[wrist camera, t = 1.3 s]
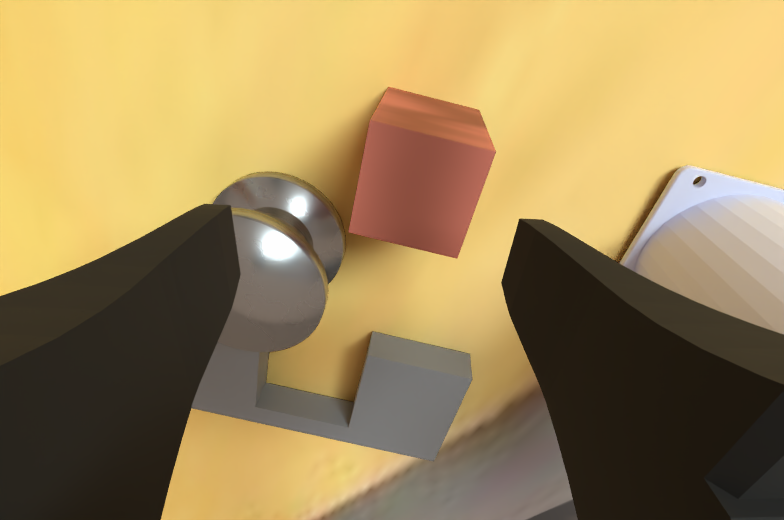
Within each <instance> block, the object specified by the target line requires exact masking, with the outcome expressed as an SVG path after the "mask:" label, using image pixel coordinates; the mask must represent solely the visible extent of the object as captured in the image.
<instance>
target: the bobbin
mask: <svg viewBox="0 0 784 520" xmlns="http://www.w3.org/2000/svg"><path fill="white" fill-rule="evenodd" d="M213 204H217V205H231V210H232V217H233V224H234V231H235V238H236V245H237V252H238V259H239V266H240V272H241V275H240V279H239V283H238V287H237V291H236V295H235V299H234V303H233V306H232V309H231V311H230V314H229V316H228V319H227V321H226V323H225V326H224V328H223V331H222V333H221V335H220V338H219V340H218V342H219V343H222V344H224V345H227V346H230V347H233V348H236V349H240V350H246V351H252V352H272V351H279V350H283V349H287V348H290V347H292V346H295V345H297V344H298V343H300V342H302V341H303V340H305V339H306V338H307V337H309V336H310V334H311V333H312V332H313V331H314V330H315V329H316V327H317V326H318V324H319V322H320V320H321V317H322V315H323V312H324V309H325V306H326V303H327V299H328V284H329V283H330V282H331V281H332V279H333V278H334V277H335V275H336V274H337V272H338V270H339V267H340V265H341V262H342V260H343V256H344V253H345V246H346V238H345V231H344V227H343V224H342V221H341V219H340V216H339V214H338V212H337V211H336V209H335V208H334V206H333V205H332V204H331V202H330V201H329V200H328V199H327V198H326V197H325V196H324V195H323V194H322V193H321V192H320V191H319V190H317V189H316V188H315V187H313V186H312V185H310V184H309V183H307V182H305V181H303V180H301V179H299V178H297V177H294V176H291V175H288V174H283V173H278V172H257V173H253V174H249V175H246V176H243V177H241V178H239V179H238V180H236V181H234V182H233V183H232V184H230V185H229V186H228V187H227V188H226V189H225V190H223V191H222V192H221V193H220V194H219V196H218V197H217V198H216V199H215V201H214V202H213Z"/></svg>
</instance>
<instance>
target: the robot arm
mask: <svg viewBox="0 0 784 520" xmlns="http://www.w3.org/2000/svg"><path fill="white" fill-rule="evenodd" d="M699 176H701V177H702V178H701V180H700V181H699V182H698V183H696V184H693V181H694V180H695V179H696V178H697V177H699ZM240 275H241V272H240V266H239V259H238V252H237V245H236V238H235V231H234V224H233V217H232V210H231V205H217V204H203V205H201V206H198V207H196V208H194V209H192V210H190V211H188V212H186V213H184V214H183V215H181V216H179V217H177V218H175V219H174V220H172V221H170V222H168V223H166V224H165V225H163V226H161V227H159V228H157V229H156V230H154V231H152V232H150V233H148V234H146V235H145V236H143V237H141V238H139V239H137V240H135V241H133V242H131V243H129V244H127V245H125V246H123V247H121V248H119V249H117V250H115V251H113V252H111V253H109V254H107V255H105V256H103V257H101V258H99V259H97V260H95V261H92V262H90V263H88V264H86V265H83V266H81V267H79V268H76V269H74V270H71V271H69V272H66V273H64V274H61V275H59V276H56V277H54V278H51V279H49V280H46V281H44V282H41V283H38V284H35V285H32V286H29V287H26V288H23V289H20V290H17V291H14V292H11V293H8V294H5V295H2V296H0V520H161V516H162V512H163V508H164V504H165V500H166V496H167V492H168V488H169V484H170V480H171V476H172V473H173V469H174V466H175V462H176V458H177V455H178V451H179V448H180V444H181V440H182V437H183V434H184V430H185V427H186V424H187V420H188V417H189V414H190V410H191V407H192V404H193V401H194V398H195V395H196V392H197V390H198V387H199V384H200V382H201V379H202V377H203V375H204V372H205V370H206V368H207V365H208V363H209V361H210V359H211V356H212V354H213V352H214V349H215V347H216V345H217V342H218V340H219V338H220V335H221V333H222V331H223V328H224V326H225V323H226V321H227V319H228V316H229V314H230V311H231V309H232V306H233V303H234V299H235V295H236V291H237V287H238V283H239V279H240ZM501 283H502V287H503V291H504V296H505V300H506V304H507V307H508V311H509V314H510V317H511V319H512V322H513V324H514V327H515V329H516V331H517V334H518V336H519V338H520V341H521V343H522V345H523V348H524V350H525V352H526V355H527V357H528V359H529V362H530V364H531V366H532V368H533V371H534V373H535V375H536V378H537V380H538V382H539V385H540V387H541V390H542V392H543V395H544V398H545V400H546V403H547V407H548V410H549V413H550V416H551V420H552V423H553V426H554V430H555V433H556V436H557V440H558V443H559V447H560V451H561V454H562V458H563V462H564V465H565V469H566V473H567V476H568V480H569V484H570V488H571V493H572V497H573V501H574V505H575V509H576V513H577V517H578V520H784V189H781V188H777V187H773V186H769V185H765V184H761V183H757V182H753V181H749V180H745V179H741V178H738V177H734V176H730V175H726V174H722V173H718V172H714V171H710V170H706V169H702V168H699V167H695V166H688V165H686V166H683V167H681V168H679V169H678V170H677V171H676V172H675V173H674V174H673V176H672V178H671V179H670V181H669V182H668V184H667V186H666V187H665V189H664V191H663V192H662V194H661V196H660V197H659V199H658V200H657V202H656V204H655V205H654V207H653V209H652V210H651V212H650V214H649V215H648V217H647V219H646V220H645V222H644V223H643V225H642V227H641V228H640V230H639V232H638V233H637V235H636V237H635V238H634V240H633V241H632V243H631V245H630V246H629V248H628V250H627V251H626V253H625V255H624V256H623V258H622V259H621V261H620V263H618V262H616V261H614V260H613V259H611V258H609V257H608V256H606V255H604V254H602V253H601V252H599V251H597V250H596V249H594V248H592V247H591V246H589V245H587V244H586V243H584V242H582V241H581V240H579V239H577V238H576V237H574V236H572V235H571V234H569V233H567V232H566V231H564V230H562V229H560V228H559V227H557V226H555V225H553V224H551V223H549V222H547V221H544V220H537V219H519V222H518V226H517V229H516V233H515V236H514V240H513V243H512V247H511V250H510V254H509V257H508V261H507V264H506V268H505V272H504V275H503V279H502V282H501Z"/></svg>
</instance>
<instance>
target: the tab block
mask: <svg viewBox="0 0 784 520" xmlns="http://www.w3.org/2000/svg"><path fill="white" fill-rule="evenodd" d="M495 153H496V151H495V148H494V146H493V143H492V141H491V138H490V136H489V133H488V131H487V128H486V126H485V123H484V121H483V118H482V116H481V113H480V111H479V110H477V109H473V108H469V107H465V106H462V105H458V104H454V103H450V102H446V101H442V100H438V99H434V98H430V97H426V96H422V95H419V94H415V93H411V92H407V91H403V90H399V89H395V88H391V87H388V89H387V91H386V92H385V94H384V96H383V98H382V99H381V101H380V103H379V105H378V107H377V108H376V110H375V112H374V114H373V115H372V117H371V119H370V122H369V127H368V133H367V138H366V143H365V148H364V153H363V159H362V164H361V169H360V174H359V180H358V185H357V190H356V195H355V200H354V206H353V211H352V216H351V221H350V226H349V233H353V234H357V235H361V236H366V237H370V238H374V239H378V240H382V241H386V242H390V243H395V244H399V245H403V246H407V247H411V248H415V249H420V250H424V251H428V252H432V253H436V254H440V255H444V256H449V257H453V258H458V255H459V252H460V250H461V247H462V244H463V241H464V239H465V236H466V233H467V230H468V228H469V225H470V222H471V219H472V217H473V214H474V211H475V208H476V205H477V203H478V200H479V197H480V194H481V192H482V189H483V186H484V183H485V181H486V178H487V175H488V172H489V170H490V167H491V164H492V161H493V159H494V156H495Z"/></svg>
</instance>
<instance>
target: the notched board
mask: <svg viewBox="0 0 784 520" xmlns="http://www.w3.org/2000/svg"><path fill="white" fill-rule="evenodd" d="M268 357H269V352H252V351H246V350H240V349H236V348H233V347H230V346H227V345H224V344H222V343H219V342H217V345H216V347H215V349H214V352H213V354H212V356H211V359H210V361H209V363H208V365H207V368H206V370H205V372H204V375H203V377H202V379H201V382H200V384H199V387H198V390H197V392H196V395H195V398H194V401H193V404H192V407H191V408H193V409H198V410H202V411H207V412H211V413H216V414H220V415H225V416H229V417H234V418H239V419H243V420H248V421H252V422H257V423H261V424H266V425H270V426H275V427H280V428H284V429H289V430H293V431H298V432H302V433H307V434H311V435H316V436H320V437H325V438H330V439H334V440H339V441H343V442H348V443H352V444H357V445H361V446H366V447H370V448H375V449H380V450H384V451H389V452H393V453H398V454H402V455H407V456H411V457H416V458H421V459H425V460H430V461H434V460H435V458H436V456H437V453H438V451H439V449H440V447H441V445H442V443H443V441H444V439H445V436H446V434H447V432H448V430H449V428H450V426H451V424H452V422H453V419H454V417H455V415H456V413H457V411H458V409H459V407H460V405H461V402H462V400H463V398H464V396H465V394H466V392H467V390H468V388H469V385H470V383H471V381H472V370H471V360H470V354H468V353H464V352H459V351H455V350H451V349H446V348H442V347H438V346H433V345H429V344H425V343H420V342H416V341H412V340H407V339H403V338H399V337H395V336H390V335H386V334H382V333H377V332H373V331H372V335H371V339H370V343H369V346H368V350H367V354H366V358H365V362H364V365H363V369H362V373H361V377H360V380H359V384H358V388H357V392H356V396H355V399H354V402H350V401H346V400H341V399H337V398H332V397H328V396H323V395H319V394H314V393H310V392H305V391H301V390H297V389H292V388H288V387H283V386H279V385H274V384H270V383H266V379H267V368H268Z"/></svg>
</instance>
